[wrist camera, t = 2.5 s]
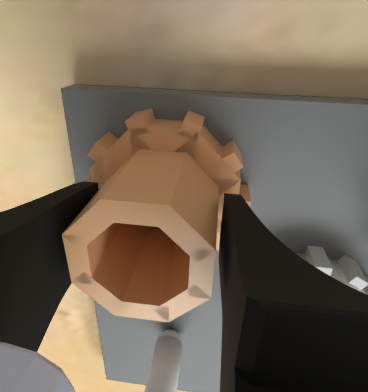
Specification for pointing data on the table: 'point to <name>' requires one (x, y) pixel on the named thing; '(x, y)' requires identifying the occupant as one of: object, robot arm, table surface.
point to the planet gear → (153, 217)
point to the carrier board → (260, 204)
